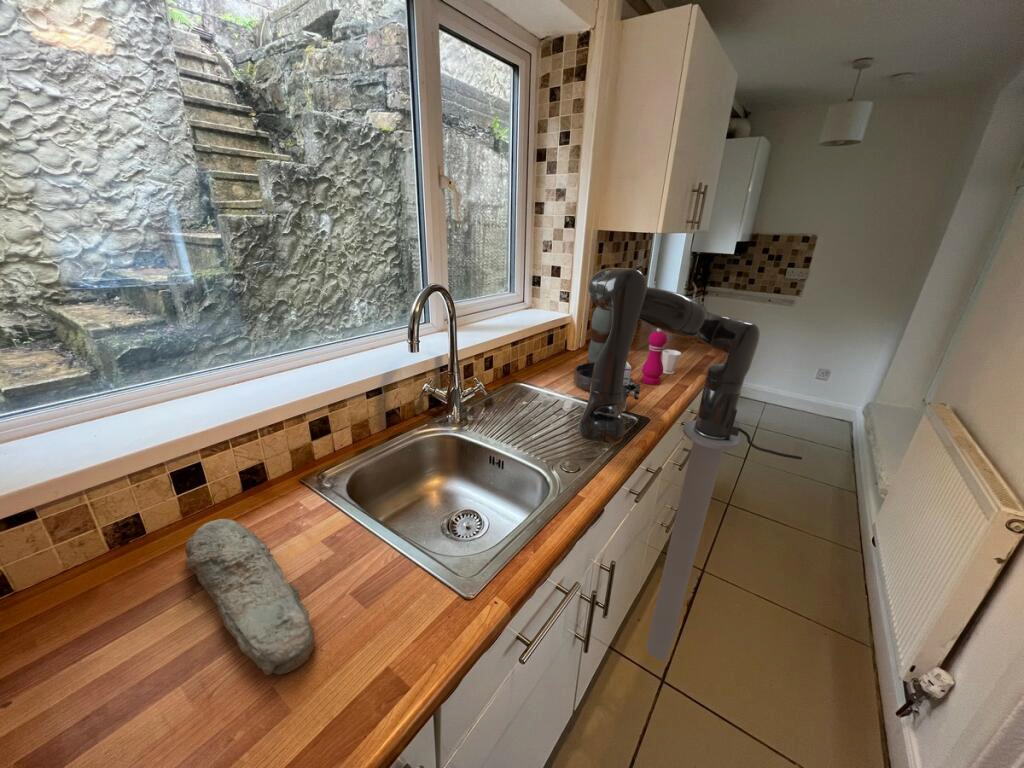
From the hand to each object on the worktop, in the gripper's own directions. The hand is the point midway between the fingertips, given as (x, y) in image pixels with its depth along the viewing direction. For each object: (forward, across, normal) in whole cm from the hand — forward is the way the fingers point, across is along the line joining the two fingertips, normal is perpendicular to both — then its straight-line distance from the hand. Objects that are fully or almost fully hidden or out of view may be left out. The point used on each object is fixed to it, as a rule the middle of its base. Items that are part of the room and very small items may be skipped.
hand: (618, 379), depth 124 cm
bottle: (+39, +11, +9) cm, 42 cm away
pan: (+15, +8, +8) cm, 19 cm away
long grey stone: (-91, +43, +9) cm, 101 cm away
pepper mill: (+25, -10, +9) cm, 28 cm away
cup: (+40, -16, +9) cm, 44 cm away
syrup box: (-2, 0, +9) cm, 9 cm away
